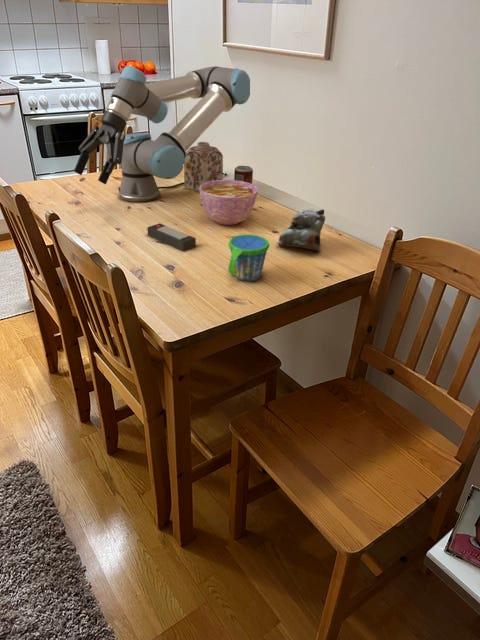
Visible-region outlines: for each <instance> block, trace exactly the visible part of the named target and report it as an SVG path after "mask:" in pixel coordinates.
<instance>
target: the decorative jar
mask: <svg viewBox="0 0 480 640" xmlns="http://www.w3.org/2000/svg"><path fill="white" fill-rule="evenodd" d="M183 166H184V167H183V182H184V184H183V185H184V189H186V190H190V191H192V192H193V191H194V192H196V193H200V190H199V187H200V186H201V185H202V184H204V183H206V182H210V181H215V180H224V174H223V172H224V156H223V153H222V152H221V151H220V150H219V148H218V147H215V146H211V145H210V143H209V142H207V141H199V142H197V145H195V146H190V147H189V148H188V149H187V150H186V158H185V164H183Z"/></svg>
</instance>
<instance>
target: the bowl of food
mask: <svg viewBox="0 0 480 640" xmlns="http://www.w3.org/2000/svg"><path fill="white" fill-rule="evenodd" d="M199 190H200V192H199V194H200V195H199V196H200V199H201V203H202V207H203V210H204V213H205V214H206V215H207V217H208V218H210V219H211V220H213V221H215V222H216V223H218V224H220V225H224V226H234V225H237V224H239V223H241V222H244V221H245V220H247V219H248V218H249V217H250V216H251V214H252V212H253V210H254V207H255V204H256V200H257V197H258V193H259V188H258V187H257V186H256V185H255V184H253V183H252V184H250V183H248V182H243V181H236V180H234V179H223V180H215V181H210V182H206V183H204V184H202V185H201V186H200V187H199Z"/></svg>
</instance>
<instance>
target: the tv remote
mask: <svg viewBox="0 0 480 640" xmlns="http://www.w3.org/2000/svg"><path fill="white" fill-rule="evenodd" d="M146 231H147V236H148V237H150V238H153V239H155V240H157V241H159V242H162V243H164V244H167V245H168V246H170V247H174V248H175V249H178V250H179V251H182V252H184V251H187V250H190V249H193V248H195V247H196V246H197V243H196V242H197V238H196V237H194V236H192V235H190V234H188V233H184V232H182V231H179V230H177V229H175V228H172V227H170V226H167V225H165V224H164V223H161V222H159V223H157V224H153V225H151V226H147V227H146Z"/></svg>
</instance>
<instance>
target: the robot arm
mask: <svg viewBox="0 0 480 640" xmlns="http://www.w3.org/2000/svg"><path fill="white" fill-rule="evenodd" d="M146 81H147V76H146V75H145V73H144V72H143V71H142V70H139V69H138V68H136V67H134V66H132V65H127V66H125V67H124V68H123V70H122V71H121V73H120V75H119V76H118V79H117V82H116V85H115V87H114V88H113V90H112V91H111V94H110V99H108V100H109V101H108V102H107V103H108V104H107V105H106V108H105V109H106V110H105V111H104V112H103V114H102V116H101V118H100V122H101V127H100V126H98V125H96V124H95V125H94V126H93V128H92V130H91V131H90V133H89V134H88V135H87V137H85V139H84V140H83V141H82V142H81V143H80V145H79V146H78V150H79V151H80V155H79V157H78V159H77V163H76V165H75V166H74V169H73V172H74V173H76V174H77V175H80V176H83V174H84V171H85V168H86V166H87V164H88V161H89V160H90V155H91V154H92V153H93V152H94V151H96V149H98V148H99V147H100V146H102V145H106V146H107V157H108V158H107V159H106V161H105V163H104V165H103V167H102V169H101V172H100V174H99V177H98V179H97V181H98V182H100V183H102V184H104V185H107V183H108V180H109V179H110V177H111V174H112V173H113V170H114V168H115V166H117V165H121V175H122V176H121V182H120V186H119V187H118V188H117V189H118V195H119V196H118V197H119V198H120V199H121V200H123V201H126V202H131V203H146V202H152V201H155V200H157V199H159V197H160V190H164V189H165V190H167V189H173V188H177V187H180V186H182V185H184V181H183V182H180V183H176V184H174V185H169V186H168V185H167V186H158V185H157V182H156V179H155V177H156V178H158V179H163V180H172V179H175V178H176V177H178V176H179V175H180V174H181V173H182V171H184V164H185V158H186V152H187V151H188V149H189V148H190V147H192V145H194V143H195V142H196V141H197V140H198V139H199V138H200V137H201V136H202V134H204V132H206V131H207V130H208V128H209V127H210V126H211V125H212V124H213V123H214V122H215V121H216V120H217V119H218V118H219V117H220V116H221V115H222V113H223V112H224V113H227V112H230V111H231V110H232V109H233V108H234V107H235V105H244V104H246V103H247V102H248V100H249V99H250V96H251V93H250V81H251V78H250V76H249V74H248V73H247V71H245V70H243V69H240V68H237V67H236V68H229V67H222V66H214V65H213V66H208V67H204V68H199V69H195V70H190V71H187V72H186V74H185V75H182V76H178V77H177V76H176V77H172V78H169V79H164V80H163V79H162V80H159V81H155V82H154V81H153V82H151V83H146ZM188 98H191V99H194V100H196V99H200V100H199V101H198V102H197V103H196V104H195V105H194V106H193V107H192V108H191V109H190V110H189V111H188V112H187V113H186V114H185V115H184V117H182V118H181V119H180V120H179V122H178V123H177V124H175V126H174V127H172V129H171V130H170V131H169V132H166V131H165V132H162V133H161V134H160V135H159V136H158V137H156V139H154V140H153V139H152V138H153V137H152V134H150V133H148V132H136V133H135V132H134V133H127V134H124V131H125V129H126V127H127V125H128V123H127V122H129V120H130V118H131V116H132V115H134V116H135V115H136V116H140V117H144V118H147V119H148V121H150V122H152V123H153V124H160V123H163V121H164V120H165V119H166V118H167V115H168V113H169V111H168V110H169V109H168V108H169V107H168V106H167V104H168V103H172V102H176V101H180V100H184V99H188ZM223 175H224V176H228V174H227V173H226V172H225V174H224V173H223Z"/></svg>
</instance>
